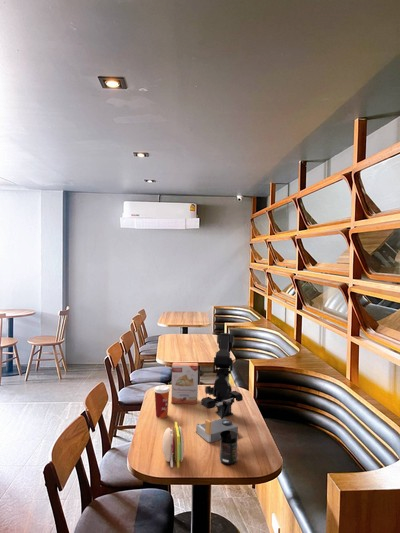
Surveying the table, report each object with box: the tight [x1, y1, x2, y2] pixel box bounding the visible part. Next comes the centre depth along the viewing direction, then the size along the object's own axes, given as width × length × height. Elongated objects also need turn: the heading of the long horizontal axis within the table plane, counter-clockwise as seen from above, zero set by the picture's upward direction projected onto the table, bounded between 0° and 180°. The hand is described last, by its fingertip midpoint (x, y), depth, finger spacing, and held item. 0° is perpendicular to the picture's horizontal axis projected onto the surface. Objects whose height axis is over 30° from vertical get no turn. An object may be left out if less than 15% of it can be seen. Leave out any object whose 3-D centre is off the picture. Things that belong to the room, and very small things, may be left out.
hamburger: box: [161, 421, 185, 469], centre depth 143 cm, size 12×8×12 cm
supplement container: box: [219, 431, 239, 466], centre depth 142 cm, size 7×7×10 cm
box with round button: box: [199, 417, 239, 443], centre depth 164 cm, size 14×10×4 cm
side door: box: [195, 418, 212, 443], centre depth 160 cm, size 1×11×9 cm, turn 32°
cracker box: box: [171, 362, 199, 405], centre depth 198 cm, size 14×6×21 cm, turn 89°
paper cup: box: [153, 384, 171, 419], centre depth 181 cm, size 8×8×14 cm
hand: (221, 418), depth 161 cm, fingers closed
